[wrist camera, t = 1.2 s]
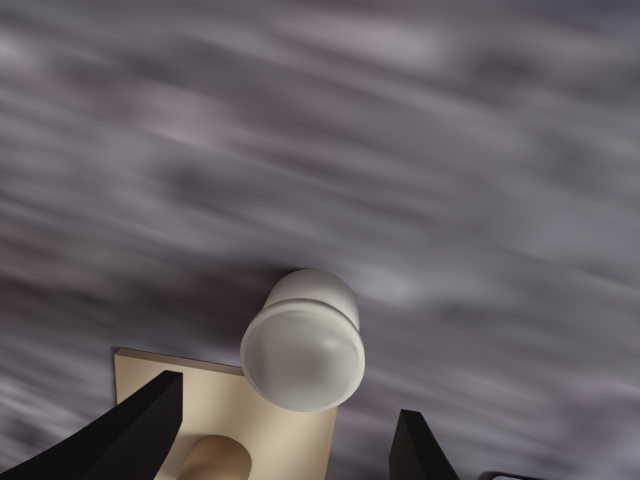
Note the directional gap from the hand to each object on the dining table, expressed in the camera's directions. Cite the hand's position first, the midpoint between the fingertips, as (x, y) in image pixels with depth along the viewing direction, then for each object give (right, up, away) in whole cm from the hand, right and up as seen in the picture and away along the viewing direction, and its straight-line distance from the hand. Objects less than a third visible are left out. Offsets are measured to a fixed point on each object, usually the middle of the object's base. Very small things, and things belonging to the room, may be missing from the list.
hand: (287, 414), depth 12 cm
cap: (+1, +2, +6) cm, 7 cm away
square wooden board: (-5, -7, +10) cm, 13 cm away
